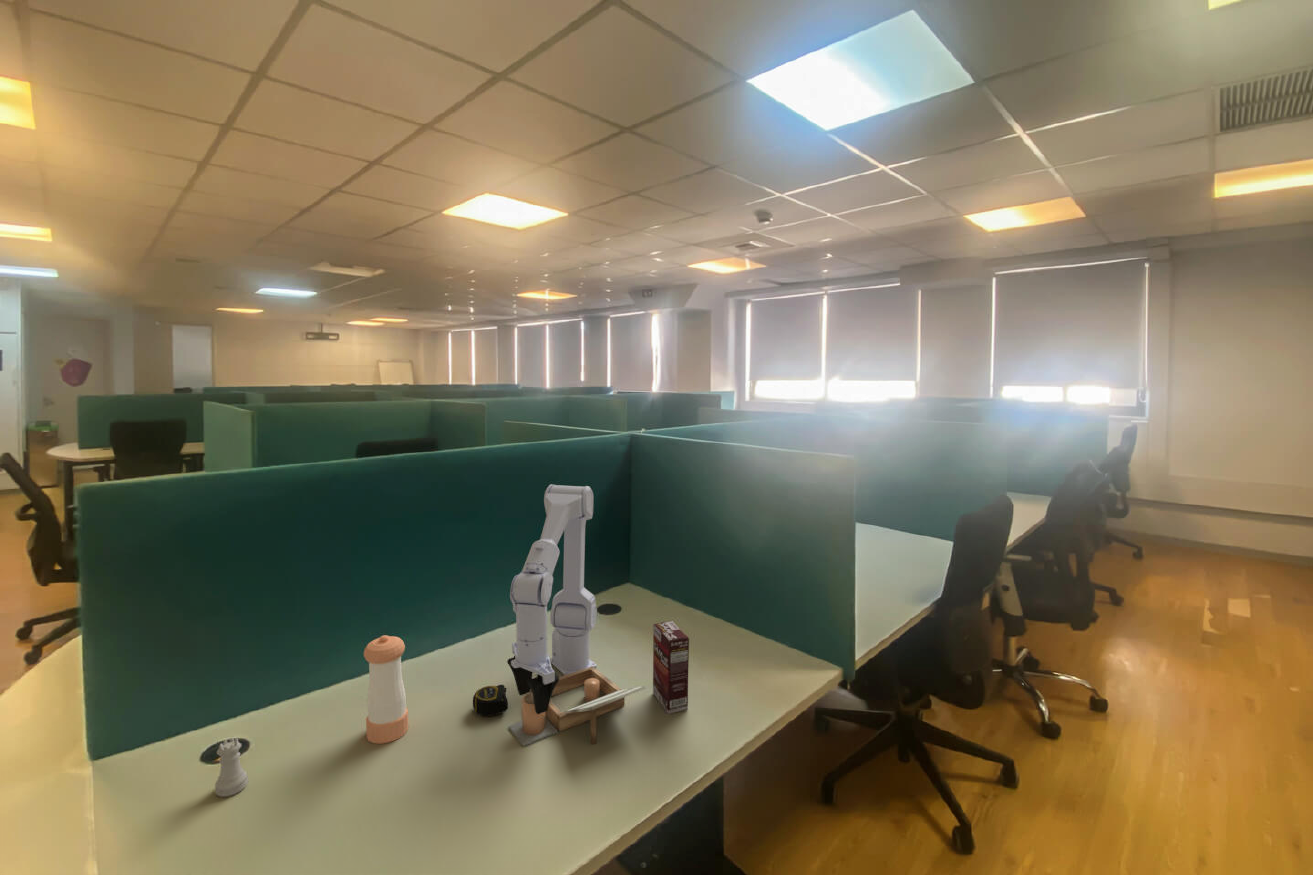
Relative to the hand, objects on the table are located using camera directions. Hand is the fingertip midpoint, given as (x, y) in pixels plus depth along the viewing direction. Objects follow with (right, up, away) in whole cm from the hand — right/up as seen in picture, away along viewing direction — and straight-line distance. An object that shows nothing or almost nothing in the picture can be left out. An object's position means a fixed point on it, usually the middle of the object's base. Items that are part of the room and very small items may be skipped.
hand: (532, 702), depth 109 cm
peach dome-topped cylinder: (0, -5, +1) cm, 5 cm away
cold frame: (+10, -5, +6) cm, 13 cm away
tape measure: (-10, -5, +8) cm, 14 cm away
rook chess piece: (-46, -7, -16) cm, 49 cm away
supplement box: (+27, -5, +11) cm, 29 cm away
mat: (0, -6, +1) cm, 6 cm away
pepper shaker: (-28, -6, 0) cm, 28 cm away
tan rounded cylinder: (+10, -5, +12) cm, 16 cm away
